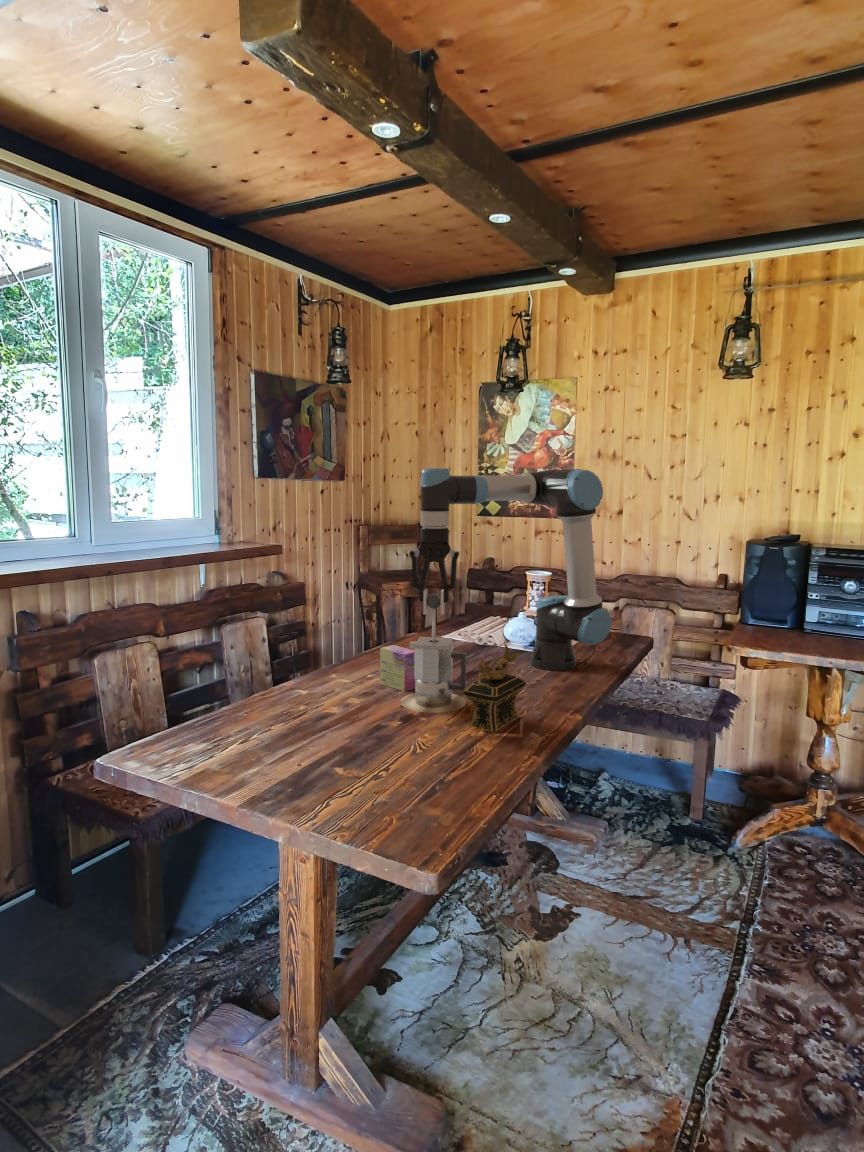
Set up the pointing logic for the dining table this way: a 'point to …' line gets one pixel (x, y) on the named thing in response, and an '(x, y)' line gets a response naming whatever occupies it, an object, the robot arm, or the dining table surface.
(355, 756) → the dining table surface
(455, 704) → the beige plate
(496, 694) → the decorative box
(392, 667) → the box
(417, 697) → the carafe
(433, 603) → the plunger
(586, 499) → the robot arm
